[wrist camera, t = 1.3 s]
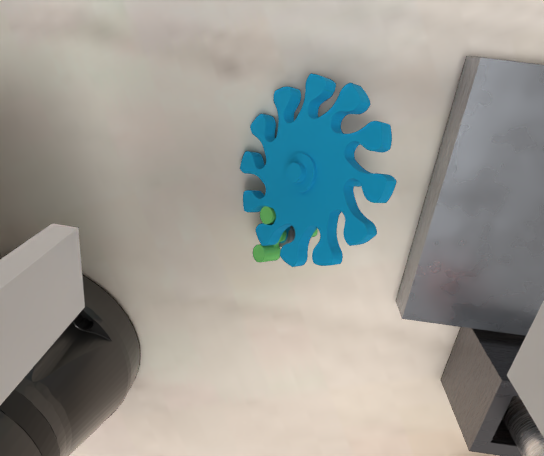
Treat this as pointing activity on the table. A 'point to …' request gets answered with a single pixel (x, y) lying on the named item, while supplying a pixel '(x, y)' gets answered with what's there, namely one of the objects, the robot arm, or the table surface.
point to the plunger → (523, 429)
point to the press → (483, 242)
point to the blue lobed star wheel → (313, 174)
